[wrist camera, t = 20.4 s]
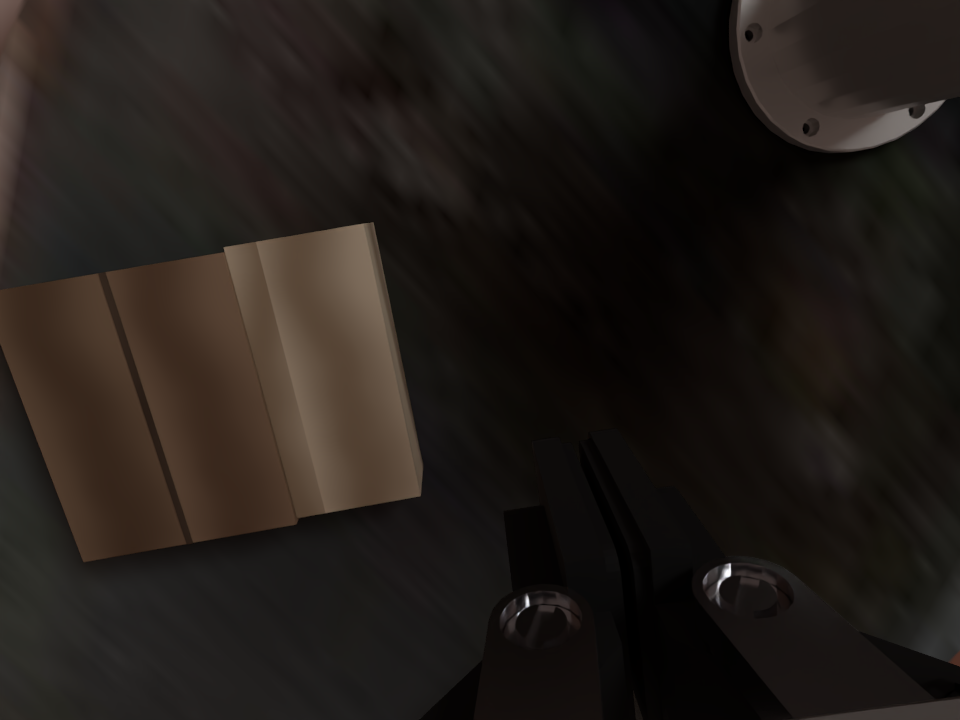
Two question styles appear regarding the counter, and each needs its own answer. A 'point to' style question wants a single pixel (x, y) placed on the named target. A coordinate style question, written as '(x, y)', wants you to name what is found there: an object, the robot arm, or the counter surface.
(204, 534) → the brown grooved flat slab
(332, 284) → the maple plank
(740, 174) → the counter surface
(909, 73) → the robot arm
